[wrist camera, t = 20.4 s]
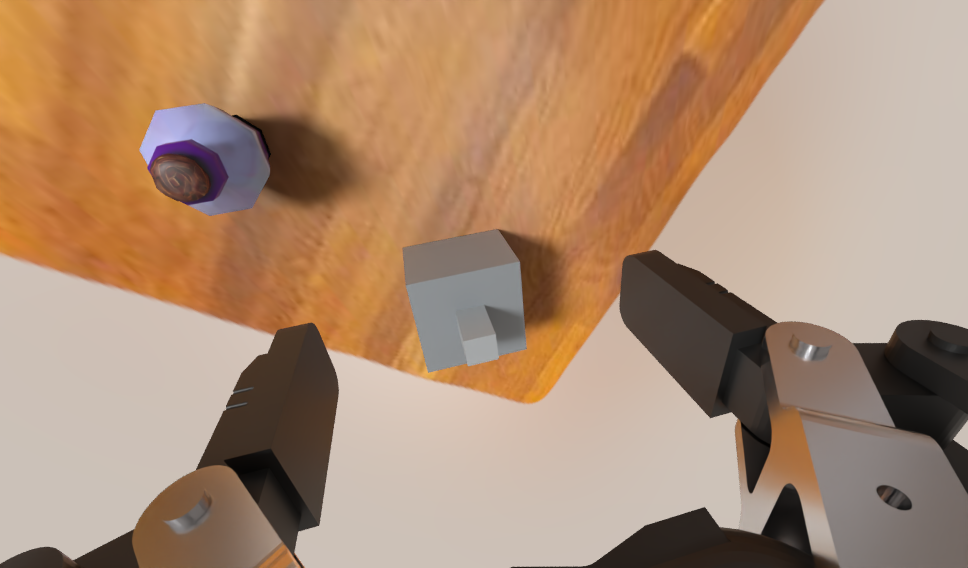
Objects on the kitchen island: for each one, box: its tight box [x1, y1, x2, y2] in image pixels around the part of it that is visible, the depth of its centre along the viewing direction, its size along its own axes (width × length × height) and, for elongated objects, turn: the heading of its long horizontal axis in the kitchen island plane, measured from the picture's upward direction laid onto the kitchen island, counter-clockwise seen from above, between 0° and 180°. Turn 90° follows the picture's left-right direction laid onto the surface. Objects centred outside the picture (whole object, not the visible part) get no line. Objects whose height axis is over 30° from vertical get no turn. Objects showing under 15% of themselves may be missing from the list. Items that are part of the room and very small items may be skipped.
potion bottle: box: [140, 103, 271, 216], centre depth 31 cm, size 9×9×12 cm
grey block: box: [403, 229, 527, 373], centre depth 42 cm, size 11×11×14 cm
